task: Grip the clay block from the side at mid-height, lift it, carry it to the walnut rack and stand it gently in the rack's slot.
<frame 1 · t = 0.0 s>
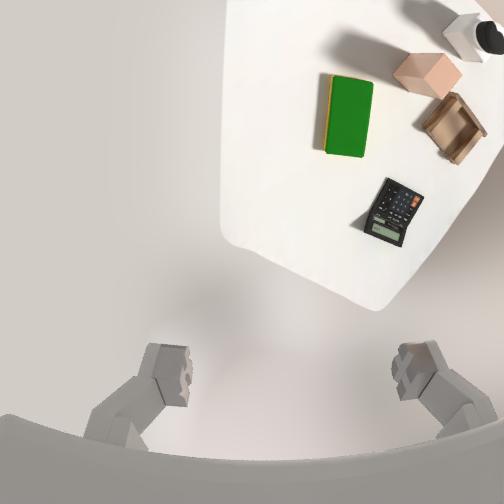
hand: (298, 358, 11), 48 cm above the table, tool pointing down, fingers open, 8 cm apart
calculator: (392, 210, 61), on the table
clay block: (410, 72, 45), on the table
dish sponge: (345, 115, 51), on the table
walnut rack: (452, 128, 50), on the table
medicine bottle: (461, 37, 40), on the table
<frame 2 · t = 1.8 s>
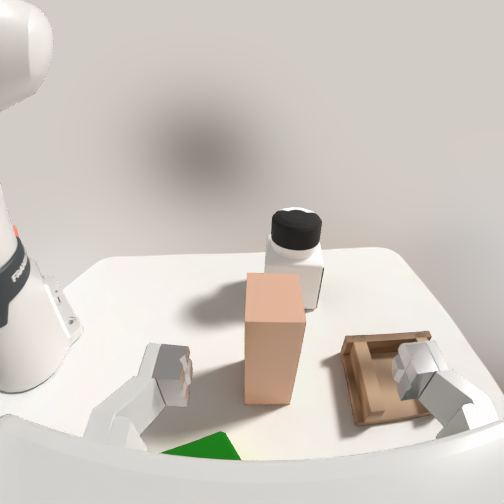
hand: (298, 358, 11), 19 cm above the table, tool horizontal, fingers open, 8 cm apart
clay block: (266, 380, 32), on the table
walnut rack: (393, 382, 31), on the table
medicine bottle: (289, 293, 45), on the table
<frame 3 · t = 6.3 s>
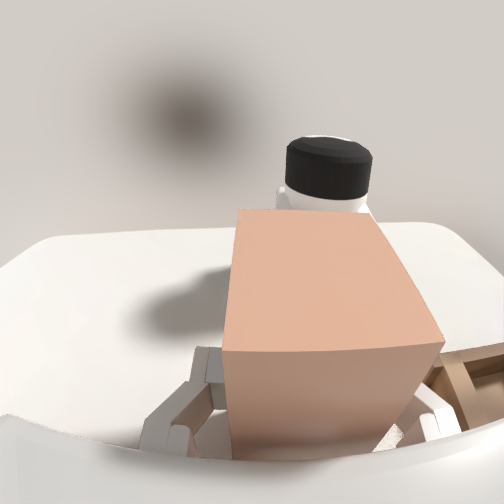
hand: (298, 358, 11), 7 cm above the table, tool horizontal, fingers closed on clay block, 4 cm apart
clay block: (283, 450, 14), on the table, touching gripper
walnut rack: (498, 426, 13), on the table
medicine bottle: (313, 284, 27), on the table
when the fingers open (9 cm above the table, at t = 12.7 s): clay block drops 1 cm, resting on walnut rack.
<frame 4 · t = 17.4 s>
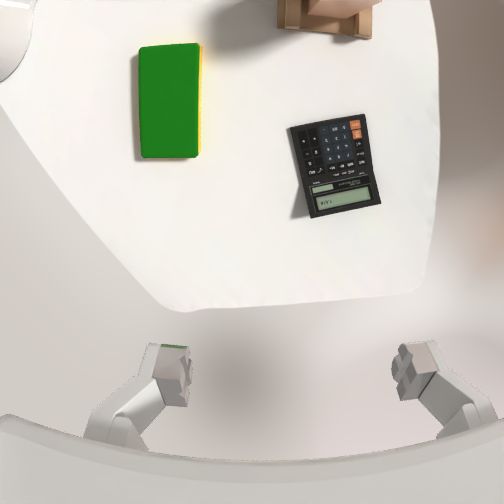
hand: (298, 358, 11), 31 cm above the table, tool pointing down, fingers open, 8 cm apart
calculator: (335, 162, 39), on the table
dish sponge: (173, 99, 35), on the table
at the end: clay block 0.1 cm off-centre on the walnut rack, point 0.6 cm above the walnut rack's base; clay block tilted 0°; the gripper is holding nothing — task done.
